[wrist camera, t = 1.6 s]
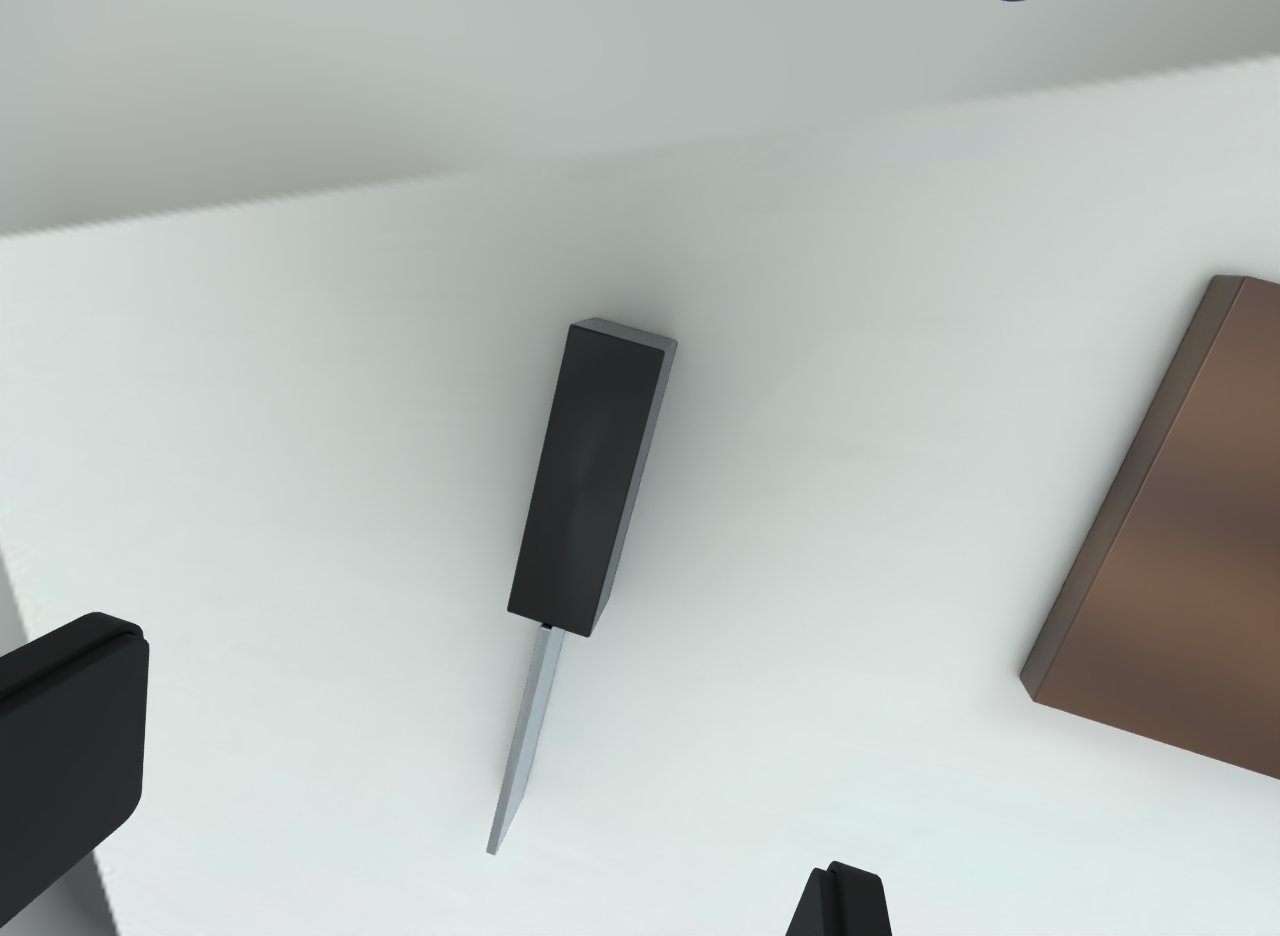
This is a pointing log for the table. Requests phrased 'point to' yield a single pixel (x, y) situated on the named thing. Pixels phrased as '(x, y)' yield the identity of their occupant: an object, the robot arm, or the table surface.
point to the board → (1186, 555)
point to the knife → (580, 509)
